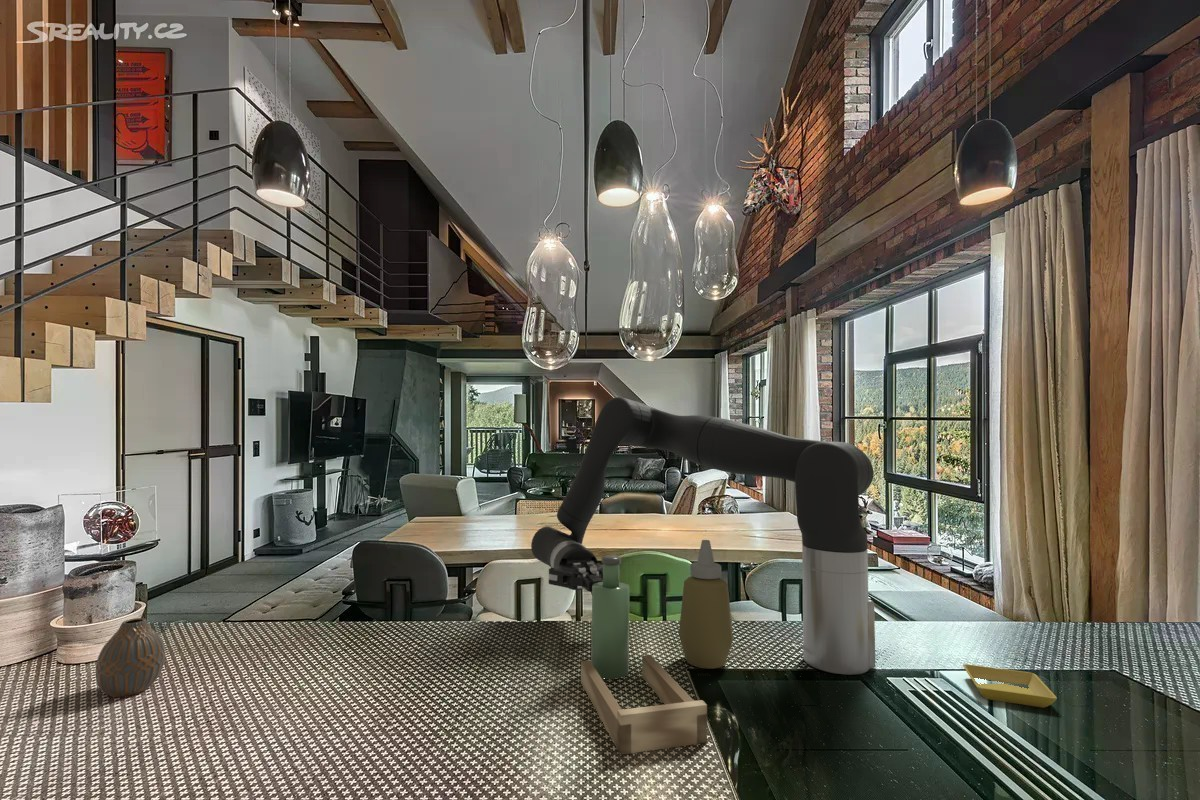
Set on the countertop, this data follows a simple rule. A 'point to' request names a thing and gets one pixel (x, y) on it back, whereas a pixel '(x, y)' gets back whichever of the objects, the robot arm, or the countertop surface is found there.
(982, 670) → the yellow shallow square tray
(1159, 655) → the countertop surface
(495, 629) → the countertop surface
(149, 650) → the vase
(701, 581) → the squeeze bottle
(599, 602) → the bottle
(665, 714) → the u rest
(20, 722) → the countertop surface
